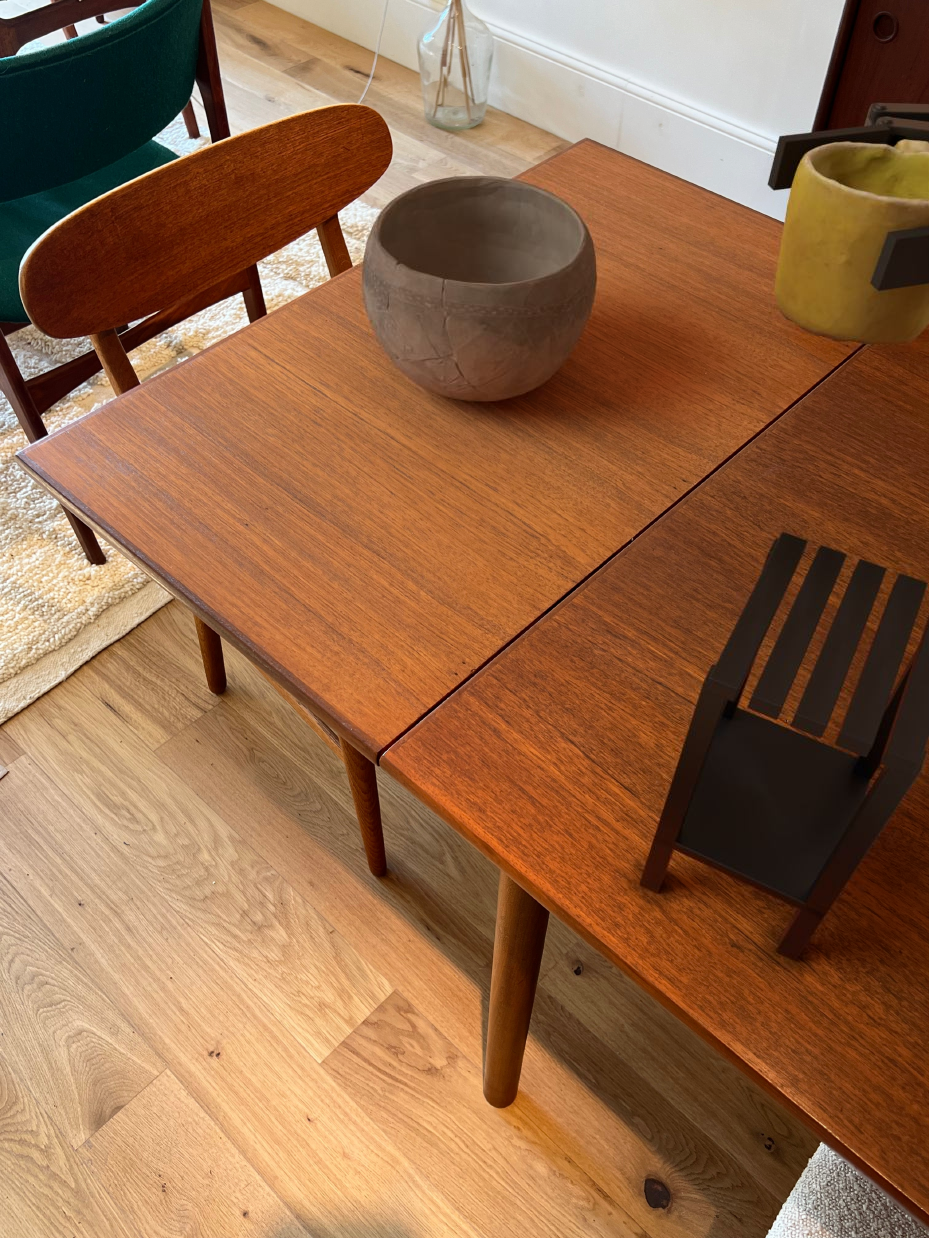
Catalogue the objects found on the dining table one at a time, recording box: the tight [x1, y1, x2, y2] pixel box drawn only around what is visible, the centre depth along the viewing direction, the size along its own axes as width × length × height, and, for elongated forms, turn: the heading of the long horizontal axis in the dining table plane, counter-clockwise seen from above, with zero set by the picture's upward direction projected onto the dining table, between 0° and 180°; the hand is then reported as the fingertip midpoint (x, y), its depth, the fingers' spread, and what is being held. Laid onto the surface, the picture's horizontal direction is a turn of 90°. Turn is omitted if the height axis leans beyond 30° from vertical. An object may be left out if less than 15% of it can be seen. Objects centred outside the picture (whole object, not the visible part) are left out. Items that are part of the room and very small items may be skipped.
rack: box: [638, 531, 929, 962], centre depth 55 cm, size 10×11×21 cm
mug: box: [773, 139, 929, 345], centre depth 54 cm, size 12×10×10 cm
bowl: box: [361, 175, 598, 402], centre depth 90 cm, size 21×21×15 cm
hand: (826, 209), depth 52 cm, fingers closed on mug, 10 cm apart
